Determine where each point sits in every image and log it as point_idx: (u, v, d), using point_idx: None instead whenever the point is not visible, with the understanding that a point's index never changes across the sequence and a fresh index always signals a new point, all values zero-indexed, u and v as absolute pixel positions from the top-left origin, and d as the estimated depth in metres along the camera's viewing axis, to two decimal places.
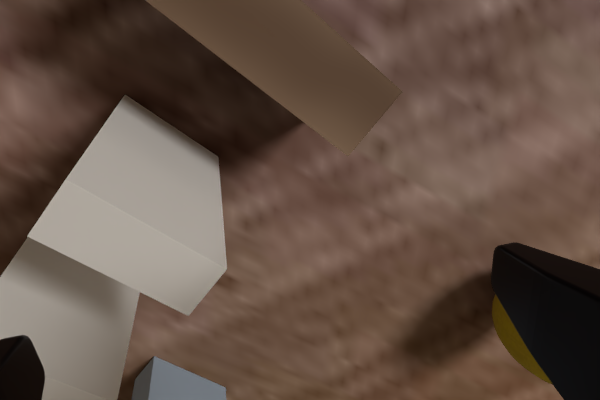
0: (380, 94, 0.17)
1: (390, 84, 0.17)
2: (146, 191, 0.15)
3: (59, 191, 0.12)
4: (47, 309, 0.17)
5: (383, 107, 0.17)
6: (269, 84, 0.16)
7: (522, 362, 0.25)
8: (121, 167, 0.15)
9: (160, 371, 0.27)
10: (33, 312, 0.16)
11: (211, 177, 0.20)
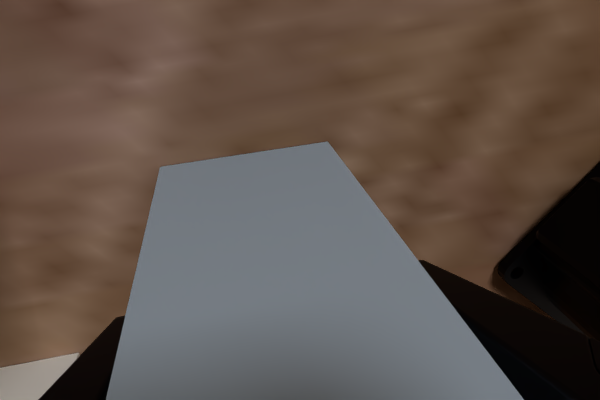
0: None
1: None
2: None
3: None
4: None
5: None
6: None
7: None
8: None
9: (176, 176, 0.13)
10: None
11: None
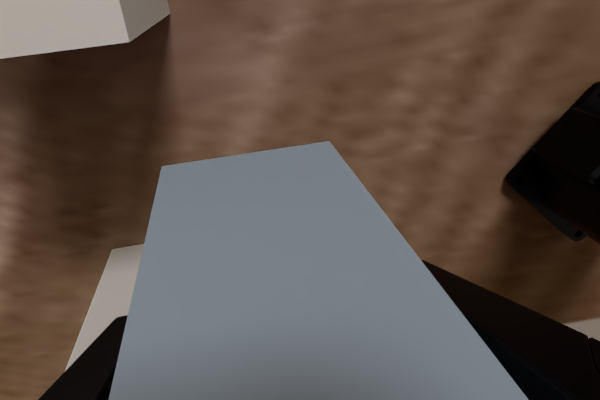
0: None
1: None
2: None
3: None
4: None
5: None
6: None
7: None
8: None
9: (177, 175, 0.13)
10: None
11: None
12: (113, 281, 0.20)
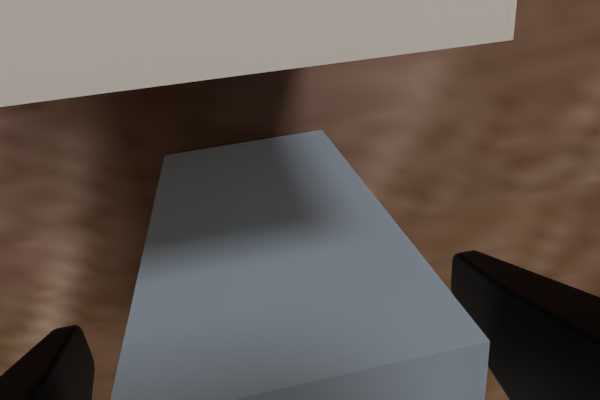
0: None
1: None
2: None
3: None
4: None
5: None
6: None
7: None
8: None
9: (179, 162, 0.14)
10: None
11: None
12: None
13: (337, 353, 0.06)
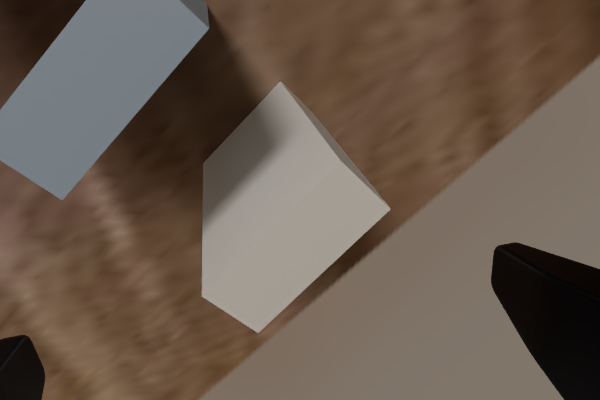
0: None
1: None
2: None
3: None
4: None
5: None
6: None
7: None
8: None
9: None
10: None
11: None
12: (213, 177, 0.18)
13: (66, 30, 0.09)
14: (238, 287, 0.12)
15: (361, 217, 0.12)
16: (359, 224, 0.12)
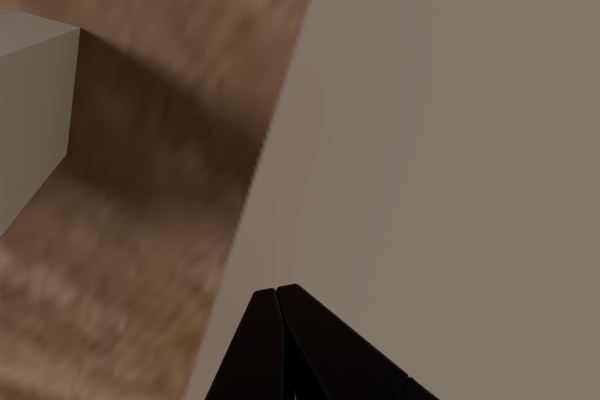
0: None
1: None
2: None
3: None
4: None
5: None
6: None
7: None
8: None
9: None
10: None
11: None
12: None
13: None
14: None
15: None
16: None
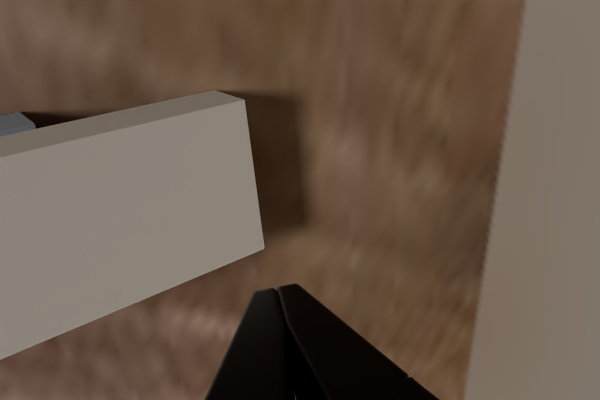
0: None
1: None
2: None
3: None
4: None
5: None
6: None
7: None
8: None
9: None
10: None
11: None
12: None
13: None
14: None
15: None
16: None
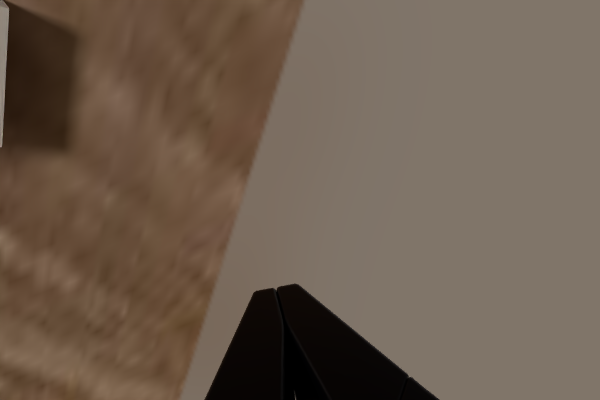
0: None
1: None
2: None
3: None
4: None
5: None
6: None
7: None
8: None
9: None
10: None
11: None
12: None
13: None
14: None
15: None
16: None
